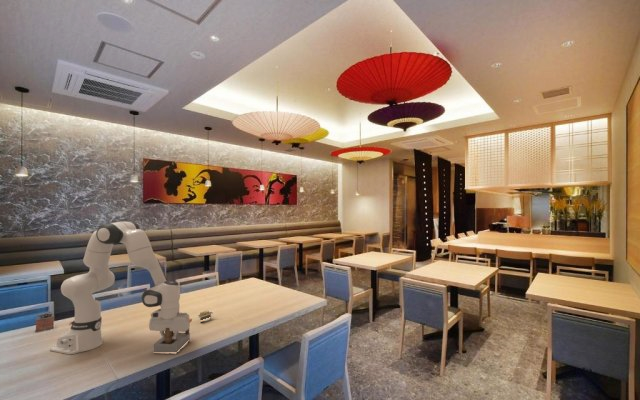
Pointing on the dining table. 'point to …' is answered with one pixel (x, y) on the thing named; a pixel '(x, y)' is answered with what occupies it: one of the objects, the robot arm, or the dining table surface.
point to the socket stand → (175, 346)
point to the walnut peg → (168, 336)
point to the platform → (205, 315)
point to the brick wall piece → (44, 322)
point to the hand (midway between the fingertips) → (169, 338)
